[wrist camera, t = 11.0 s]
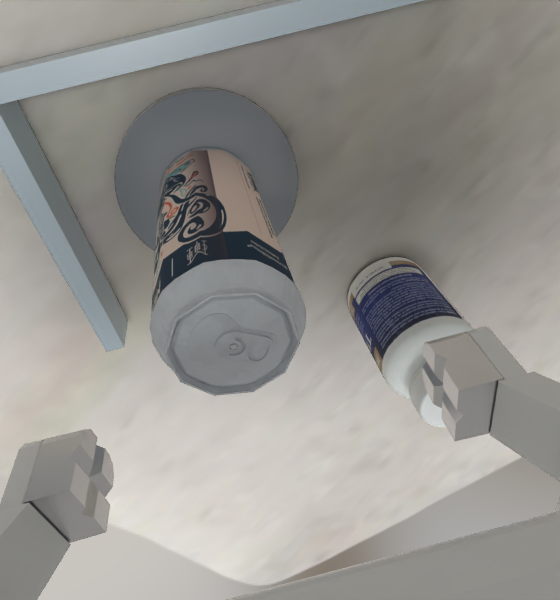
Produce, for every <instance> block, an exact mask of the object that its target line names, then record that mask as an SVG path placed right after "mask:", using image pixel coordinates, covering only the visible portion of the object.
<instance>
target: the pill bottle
mask: <svg viewBox="0 0 560 600" xmlns="http://www.w3.org/2000/svg"><path fill="white" fill-rule="evenodd" d="M348 308H349V311H350V313H351V315H352V317H353V319H354V321H355V323H356V325H357V327H358V329H359V331H360V333H361V335H362V337H363V339H364V341H365V343H366V345H367V346H368V348H369V350H370V352H371V354H372V356H373V358H374V360H375V362H376V364H377V365H378V367H379V369H380V371H381V373H382V375H383V377H384V379H385V380H386V382H387V384H388V385H389V386H390V388H391V389H392V390H393V391H395V392H396V393H397V394H399V395H401V396H403V397H405V398H408V399H411V401H412V403H413V405H414V406H415V408H416V410H417V411H418V413H419V414H420V416H421V417H422V419H423V420H424V421H425V422H426V423H428V424H429V425H432V426H436V427H446V426H445V424H444V422H443V420H442V409H441V408H440V407H438V406H436V405H434V404H433V403H432V401H431V399H430V397H429V395H428V393H427V390H426V388H425V384H424V380H423V366H424V365H425V363H426V362H427V361H426V359H425V357H424V356H423V345H424V342H428V341H432V340H436V339H439V338H443V337H447V336H450V335H454V334H458V333H462V332H466V331H470V330H474V329H473V328H472V327H471V325H470V324H469V323H468V322H467V321H466V320H465V318H464V317H463V316H462V315H461V314H460V312H459V311H458V310H457V309H456V308H455V307H454V306H453V304H452V303H451V302H450V301H449V300H448V299H447V297H446V296H445V295H444V294H443V293H442V291H441V290H440V289H439V288H438V287H437V286H436V284H435V283H434V282H433V281H432V280H431V278H430V277H429V276H428V274H426V272H425V271H424V270H423V269H422V268H421V267H420V266H419V265H417V264H416V263H415V262H413V261H411V260H409V259H406V258H401V257H390V258H385V259H382V260H379V261H377V262H375V263H373V264H371V265H370V266H368V267H366V268H365V269H364V270H363V271H362V272H360V273H359V275H358V276H357V277H356V278H355V280H354V281H353V283H352V284H351V286H350V289H349V292H348Z"/></svg>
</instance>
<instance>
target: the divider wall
mask: <svg viewBox="0 0 560 600" xmlns="http://www.w3.org/2000/svg"><path fill="white" fill-rule="evenodd" d="M421 1H425V0H278V1H274V2H270V3H266V4H262V5H257V6H253V7H249V8H245V9H241V10H237V11H232V12H228V13H224V14H220V15H216V16H212V17H208V18H203V19H199V20H195V21H191V22H187V23H183V24H179V25H174V26H170V27H166V28H162V29H158V30H154V31H150V32H145V33H141V34H137V35H133V36H129V37H125V38H121V39H116V40H112V41H108V42H104V43H100V44H96V45H92V46H87V47H83V48H79V49H75V50H71V51H67V52H62V53H58V54H54V55H50V56H46V57H42V58H38V59H33V60H29V61H25V62H21V63H17V64H13V65H9V66H4V67H0V166H1V167H2V169H3V171H4V173H5V174H6V176H7V178H8V180H9V181H10V183H11V185H12V187H13V188H14V190H15V192H16V194H17V195H18V197H19V199H20V201H21V202H22V204H23V206H24V208H25V210H26V211H27V213H28V215H29V217H30V218H31V220H32V222H33V224H34V225H35V227H36V229H37V231H38V232H39V234H40V236H41V238H42V239H43V241H44V243H45V245H46V246H47V248H48V250H49V252H50V253H51V255H52V257H53V259H54V260H55V262H56V264H57V266H58V267H59V269H60V271H61V273H62V274H63V276H64V278H65V280H66V281H67V283H68V285H69V287H70V289H71V290H72V292H73V294H74V296H75V297H76V299H77V301H78V303H79V304H80V306H81V308H82V310H83V311H84V313H85V315H86V317H87V318H88V320H89V322H90V324H91V325H92V327H93V329H94V331H95V332H96V334H97V336H98V338H99V339H100V341H101V343H102V345H103V346H104V348H105V350H106V352H107V351H111V350H115V349H119V348H122V347H124V344H125V337H126V329H127V322H128V320H127V318H126V316H125V314H124V312H123V310H122V308H121V306H120V304H119V302H118V300H117V298H116V296H115V294H114V292H113V290H112V288H111V286H110V284H109V282H108V280H107V278H106V276H105V274H104V272H103V270H102V268H101V266H100V264H99V262H98V260H97V258H96V256H95V254H94V252H93V250H92V248H91V246H90V244H89V242H88V240H87V238H86V236H85V234H84V232H83V230H82V228H81V226H80V224H79V222H78V220H77V218H76V216H75V214H74V212H73V210H72V208H71V206H70V204H69V202H68V200H67V198H66V196H65V194H64V192H63V190H62V188H61V186H60V184H59V182H58V181H57V179H56V177H55V175H54V173H53V171H52V169H51V167H50V165H49V163H48V161H47V159H46V157H45V155H44V153H43V151H42V149H41V147H40V145H39V143H38V141H37V139H36V137H35V135H34V133H33V131H32V129H31V127H30V125H29V123H28V121H27V119H26V117H25V115H24V113H23V111H22V109H21V107H20V105H19V103H18V101H17V100H20V99H24V98H28V97H32V96H36V95H40V94H44V93H48V92H53V91H57V90H61V89H65V88H69V87H73V86H77V85H81V84H85V83H89V82H93V81H97V80H102V79H106V78H110V77H114V76H118V75H122V74H126V73H130V72H134V71H138V70H142V69H147V68H151V67H155V66H159V65H163V64H167V63H171V62H175V61H179V60H183V59H187V58H192V57H196V56H200V55H204V54H208V53H212V52H216V51H220V50H224V49H228V48H232V47H237V46H241V45H245V44H249V43H253V42H257V41H261V40H265V39H269V38H273V37H277V36H282V35H286V34H290V33H294V32H298V31H302V30H306V29H310V28H314V27H318V26H322V25H327V24H331V23H335V22H339V21H343V20H347V19H351V18H355V17H359V16H363V15H367V14H372V13H376V12H380V11H384V10H388V9H392V8H396V7H400V6H404V5H408V4H412V3H417V2H421Z"/></svg>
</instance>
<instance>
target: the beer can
mask: <svg viewBox="0 0 560 600" xmlns="http://www.w3.org/2000/svg"><path fill="white" fill-rule="evenodd" d="M305 322H306V310H305V305H304V302H303V300H302V297H301V294H300V292H299V290H298V288H297V287H296V285H295V283H294V281H293V278H292V276H291V273H290V271H289V268H288V266H287V263H286V261H285V258H284V256H283V253H282V250H281V248H280V245H279V243H278V240H277V238H276V235H275V233H274V230H273V228H272V225H271V223H270V220H269V218H268V215H267V213H266V210H265V207H264V205H263V202H262V200H261V197H260V195H259V192H258V190H257V186H256V183H255V180H254V177H253V175H252V173H251V171H250V169H249V168H248V167H247V166H246V164H245V163H244V162H243V161H242V160H241V159H239V158H238V157H236V156H235V155H233V154H232V153H229V152H227V151H224V150H221V149H217V148H199V149H193V150H191V151H188V152H186V153H184V154H182V155H181V156H179V157H178V158H176V159H175V160H174V161H173V162H172V163H171V164H170V165H169V166H168V168H167V169H166V170H165V172H164V174H163V177H162V180H161V183H160V190H159V203H158V219H157V235H156V251H155V266H154V282H153V298H152V314H151V323H150V331H151V335H152V341H153V344H154V346H155V348H156V350H157V351H158V353H159V355H160V356H161V358H162V360H163V361H164V362H165V363H166V364H167V365H168V366H169V367H170V368H171V369H172V370H173V371H174V373H175V374H176V375H177V377H178V378H179V380H180V382H182V383H184V384H187V385H189V386H192V387H194V388H197V389H199V390H202V391H204V392H207V393H209V394H212V395H214V396H216V395H226V394H236V393H246V392H254V391H255V390H257V389H259V388H260V387H262V386H264V385H265V384H267V383H269V382H270V381H272V380H274V379H275V378H277V377H278V376H280V375H282V374H283V373H285V372H286V370H287V368H288V366H289V364H290V362H291V360H292V358H293V356H294V354H295V352H296V350H297V348H298V346H299V344H300V340H301V338H302V335H303V332H304V329H305Z"/></svg>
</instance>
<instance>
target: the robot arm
mask: <svg viewBox="0 0 560 600" xmlns="http://www.w3.org/2000/svg"><path fill="white" fill-rule="evenodd" d="M423 356H424V357H425V359H426V361H427V362H426V363H425V365H424V366H423V380H424V384H425V388H426V390H427V393H428V395H429V397H430V399H431V401H432V403H433V404H434V405H436V406H438V407H440V408H441V409H442V420H443V422H444V424H445V426H446V427H447V429H448V431H449V432H450V434H451V436H452V438H453V439H454V441H458V440H462V439H467V438H471V437H475V436H480V435H484V434H488V433H490V435H491V436H492V437H494V438H495V439H497V440H498V441H500V442H501V443H503V444H504V445H506V446H507V447H509V448H510V449H512V450H513V451H515V452H516V453H518V454H519V455H521V456H522V457H524V458H525V459H527V460H528V461H530V462H531V463H532V464H534V465H535V466H537V467H539V468H540V469H542V470H543V471H544V472H546V473H547V474H549V475H550V476H552V477H554V478H555V479H556V480H558V481H559V482H560V383H559V382H556V381H554V380H552V379H549V378H547V377H545V376H542V375H540V374H538V373H535V372H531V373H527V372H526V371H525V369H524V368H523V367H522V366H521V365H520V364H519V362H518V361H517V360H516V359H515V358H514V357H513V355H512V354H511V353H510V352H509V351H508V350H507V348H506V347H505V346H504V345H503V344H502V342H501V341H500V340H499V339H498V338H497V337H496V335H495V334H494V333H493V332H492V331H491V330H490V329H489V328H487V327H481V328H477V329H474V330H470V331H466V332H462V333H458V334H454V335H450V336H447V337H443V338H439V339H436V340H432V341H428V342H424V345H423ZM96 442H97V437H96V435H95V434H94V433H93V431H92V430H91V429H86V430H82V431H77V432H73V433H68V434H64V435H60V436H55V437H51V438H47V439H44V440H39V441H35V442H31V443H27V444H24V445H23V446H22V447H21V448H20V449H19V451H18V454H17V457H16V460H15V462H14V465H13V468H12V471H11V474H10V477H9V480H8V483H7V486H6V488H5V491H4V494H3V497H2V500H1V503H0V600H37V599H38V597H39V596H40V594H41V592H42V591H43V589H44V587H45V586H46V584H47V583H48V581H49V579H50V578H51V576H52V574H53V573H54V571H55V569H56V568H57V566H58V565H59V563H60V561H61V560H62V558H63V556H64V555H65V553H66V551H67V550H68V548H69V546H70V542H74V541H77V540H81V539H85V538H88V537H91V536H95V535H98V534H101V533H105V532H106V530H107V523H108V516H109V509H110V504H109V503H108V501H107V500H106V499H105V497H106V495H107V494H108V493H109V491H110V490H111V488H112V487H113V479H114V472H113V463H112V461H111V458H110V455H109V454H108V452H107V451H106V449H105V448H102V447H100V446H97V445H96ZM555 510H556V512H554V513H551V514H547V515H543V516H540V517H535V518H532V519H528V520H524V521H520V522H517V523H513V524H509V525H506V526H502V527H498V528H494V529H490V530H487V531H483V532H479V533H475V534H472V535H468V536H464V537H461V538H456V539H453V540H449V541H446V542H441V543H438V544H434V545H430V546H427V547H423V548H419V549H415V550H411V551H408V552H404V553H400V554H396V555H393V556H389V557H385V558H381V559H377V560H373V561H370V562H366V563H362V564H358V565H355V566H351V567H347V568H344V569H340V570H336V571H332V572H328V573H324V574H321V575H317V576H313V577H309V578H306V579H302V580H298V581H294V582H291V583H287V584H284V585H279V586H276V587H272V588H268V589H264V590H261V591H257V592H253V593H249V594H246V595H242V596H238V597H234V598H230V599H227V600H560V497H559V500H558V503H557V506H556V508H555Z"/></svg>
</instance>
